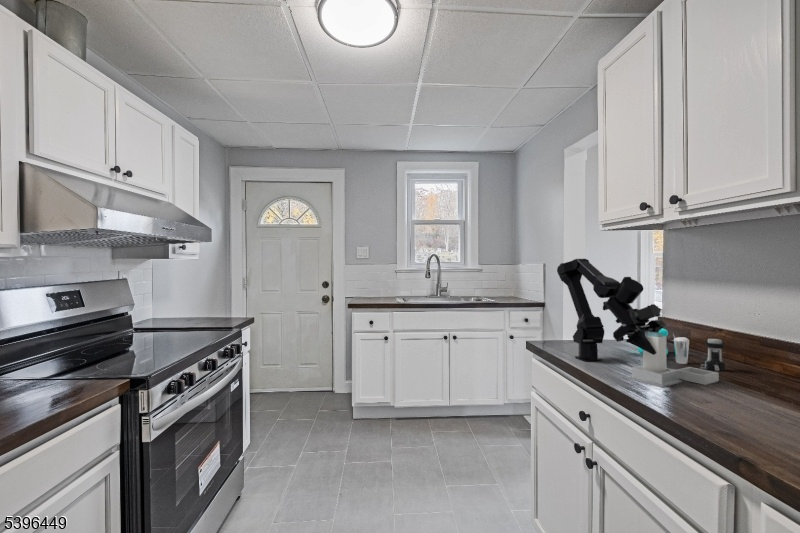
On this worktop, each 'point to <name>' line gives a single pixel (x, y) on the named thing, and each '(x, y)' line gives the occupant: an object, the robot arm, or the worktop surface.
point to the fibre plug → (659, 359)
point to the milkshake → (681, 349)
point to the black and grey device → (714, 355)
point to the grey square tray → (698, 375)
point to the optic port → (655, 376)
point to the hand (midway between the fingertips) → (659, 353)
